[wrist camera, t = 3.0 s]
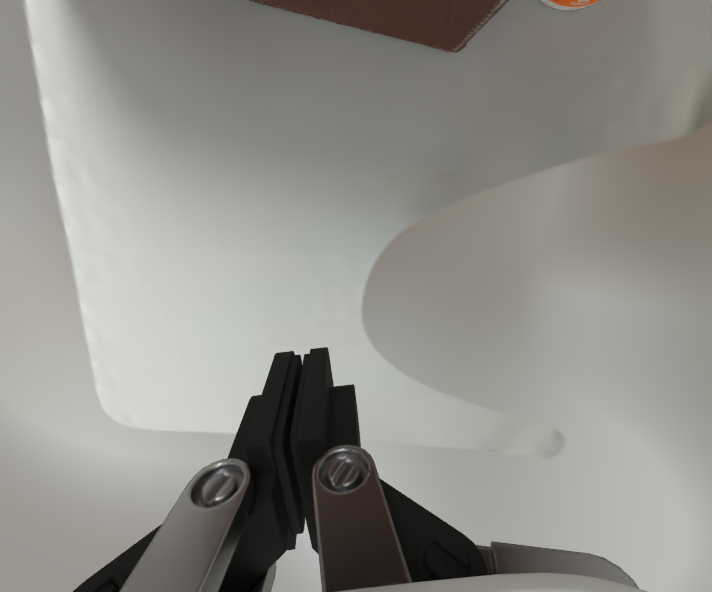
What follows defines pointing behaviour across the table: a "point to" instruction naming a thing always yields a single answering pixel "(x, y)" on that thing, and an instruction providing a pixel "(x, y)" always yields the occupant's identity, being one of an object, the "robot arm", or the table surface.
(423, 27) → the letter holder
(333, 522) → the robot arm
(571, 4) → the pill bottle
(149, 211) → the table surface
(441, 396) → the table surface
